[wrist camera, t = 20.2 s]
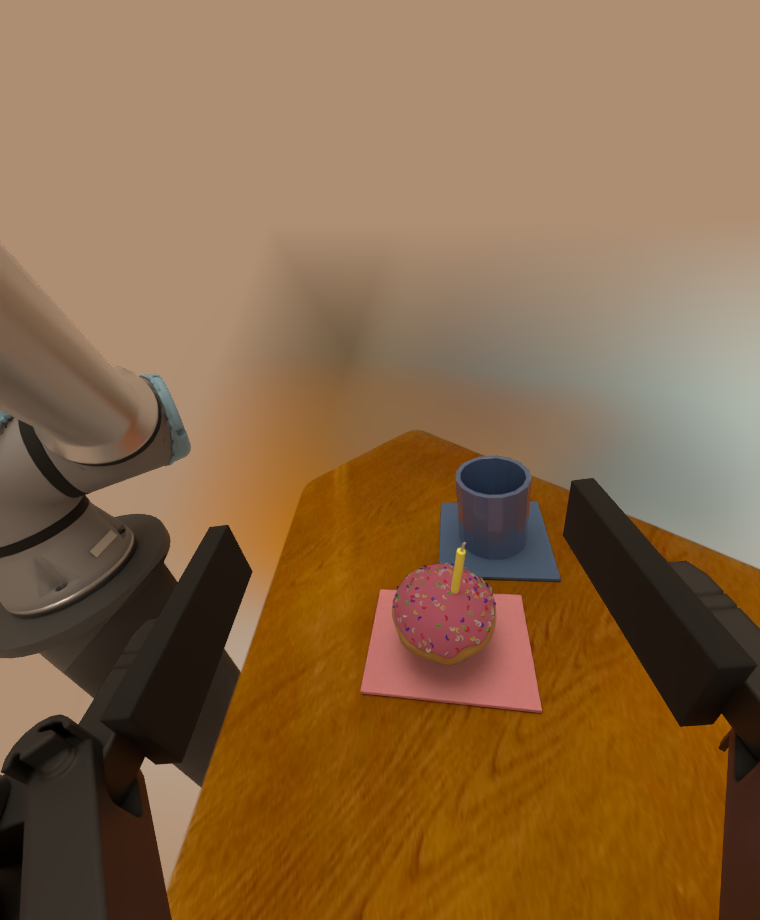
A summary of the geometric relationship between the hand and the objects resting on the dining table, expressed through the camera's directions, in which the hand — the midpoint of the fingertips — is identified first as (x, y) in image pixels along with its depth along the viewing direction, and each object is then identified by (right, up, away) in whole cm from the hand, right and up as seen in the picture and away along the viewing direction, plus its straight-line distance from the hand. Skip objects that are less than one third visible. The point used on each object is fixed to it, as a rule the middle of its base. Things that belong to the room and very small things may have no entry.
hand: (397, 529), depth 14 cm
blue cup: (+12, -6, +28) cm, 31 cm away
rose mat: (+5, -14, +18) cm, 23 cm away
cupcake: (+5, -14, +18) cm, 23 cm away
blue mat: (+12, -6, +28) cm, 31 cm away
